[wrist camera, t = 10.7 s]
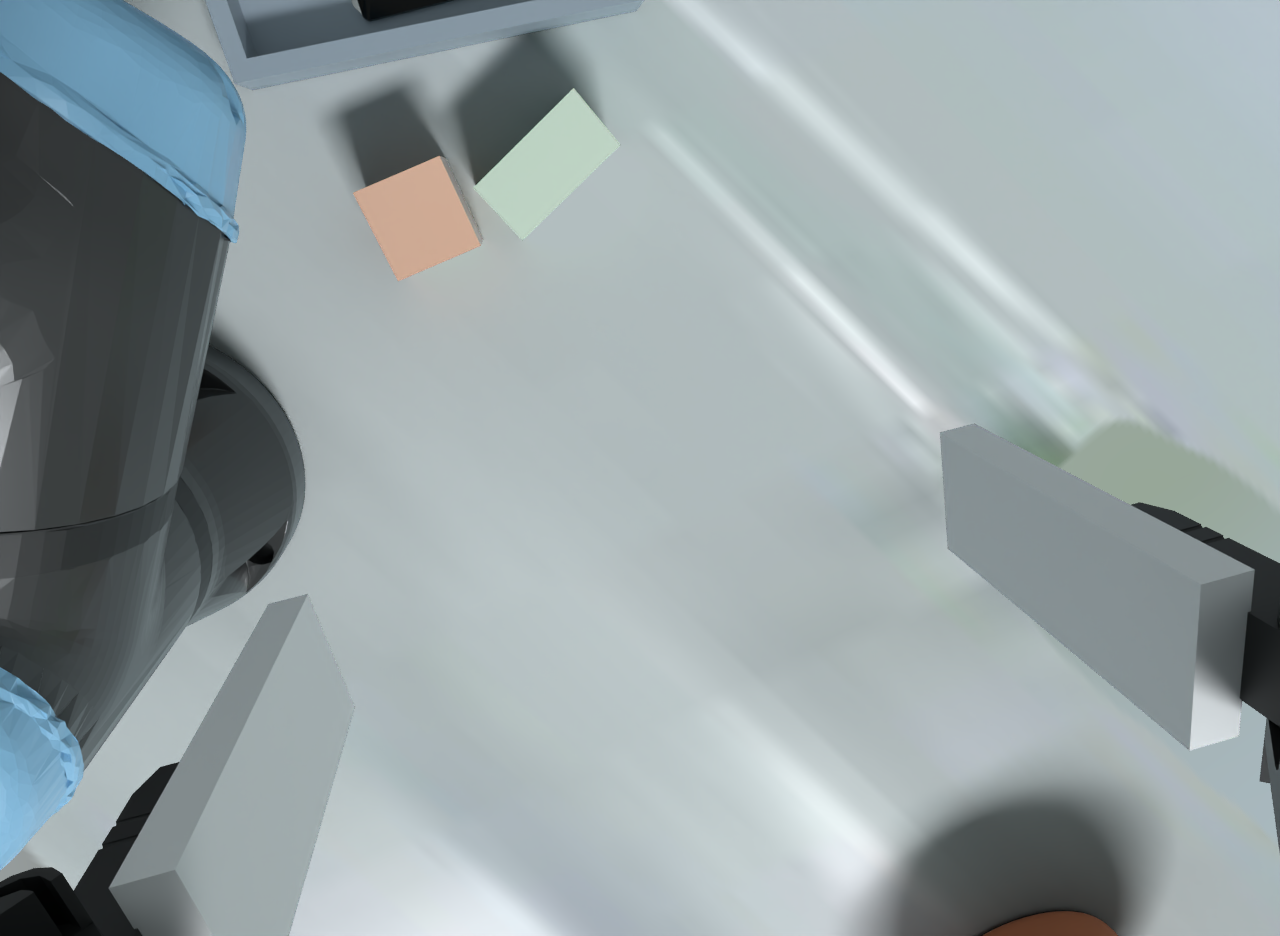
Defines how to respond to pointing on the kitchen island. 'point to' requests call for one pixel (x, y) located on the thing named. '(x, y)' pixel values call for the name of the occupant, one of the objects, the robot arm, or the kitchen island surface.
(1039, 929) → the potted cactus
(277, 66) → the tray
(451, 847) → the kitchen island surface
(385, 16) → the build plate
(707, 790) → the kitchen island surface
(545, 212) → the brick sage
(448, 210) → the cube terracotta
